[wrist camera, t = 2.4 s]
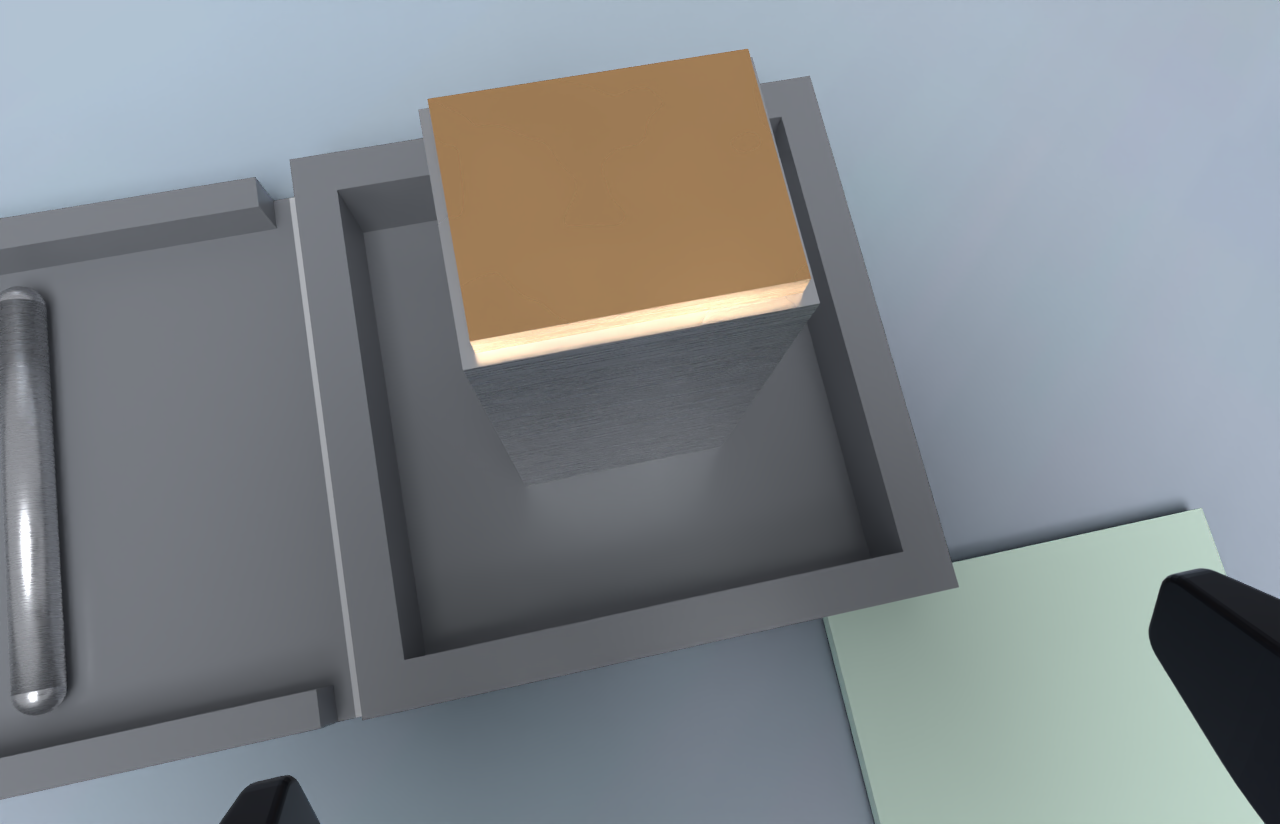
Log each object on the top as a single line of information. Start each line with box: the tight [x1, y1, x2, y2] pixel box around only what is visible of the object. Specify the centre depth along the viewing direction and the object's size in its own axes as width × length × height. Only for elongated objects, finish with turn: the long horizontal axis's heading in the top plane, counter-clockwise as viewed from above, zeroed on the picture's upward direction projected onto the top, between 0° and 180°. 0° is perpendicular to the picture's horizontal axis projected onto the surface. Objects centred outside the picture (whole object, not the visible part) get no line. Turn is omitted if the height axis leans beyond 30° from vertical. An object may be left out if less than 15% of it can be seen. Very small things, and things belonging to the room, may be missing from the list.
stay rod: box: [0, 286, 67, 716], centre depth 19 cm, size 10×1×1 cm, turn 12°
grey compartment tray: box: [0, 76, 959, 800], centre depth 20 cm, size 13×27×2 cm, turn 102°
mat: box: [823, 508, 1264, 824], centre depth 20 cm, size 10×10×1 cm
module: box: [419, 49, 820, 486], centre depth 17 cm, size 4×5×10 cm
